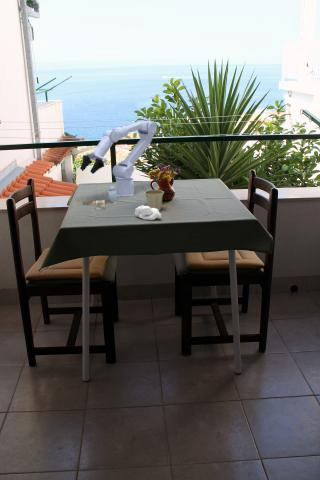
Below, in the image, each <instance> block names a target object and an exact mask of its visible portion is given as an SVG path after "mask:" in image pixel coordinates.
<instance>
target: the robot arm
mask: <svg viewBox="0 0 320 480" xmlns="http://www.w3.org/2000/svg"><path fill="white" fill-rule="evenodd" d="M157 128H158V127H157V123H156V122H155V121H153V120H143V119H140V120H136V121H135V122H134V123H131V124H129V125H127V126H126V125H123V124H119V126H118V127H113V128H112V129H107V130H105V131H103V134H102V137H101V140H100V141H99V142H98V144H97V146H96V147H95V149H94V150H93V151H91V152H85V154H83V156H82V162H81V165H80V168H79V169H80V170H81V171H82V172H84V171H85V170H86V168H87V167H89V165H91V164H92V163H93V161H94V164H93V165H92V167H91V169H90V171H89V172H90V173H91V174H95V173H96V172H97V171H99V170H100V169H102V168H103V167H105V164H106V163H108V159H107V158H106V157H104V156H106V154H107V153H108V152H109V150H110V148H111V147H112V145H113V144H114V143H118V141H119V140H120V139H123V138H126V137H127V136H129V133H133V132H136V131H137V133H138V136H139V137H138V138H140V139H139V140H138V142H137V143H136V144H135V145H134V147H132V149H131V151H130V152H129V153H128V155H127V156H126V157H125V159H124V160H121V161H119V162H118V163H117V164H115V165H114V166H113V168H112V175H113V176H114V179H115V182H116V183H115V186H116V187H115V190H116V191H117V197H126V196H127V197H130V196H135V187H134V184H135V183H134V178H133V177H132V175H133V172H134V171H135V168H134V166H135V164H136V162H137V161H138V160H139V158H140V157H141V156H142V155H143V153H144V152H145V151H146V150H147V148H148V147H149V145H150V144H151V143H152V141H153V137H154V135H155V134H156V133H157V130H158V129H157ZM92 160H93V161H92Z"/></svg>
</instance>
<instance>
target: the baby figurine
mask: <svg viewBox="0 0 320 480" xmlns="http://www.w3.org/2000/svg"><path fill="white" fill-rule="evenodd" d="M134 210H135V211H134V214H135V216H136V217H139V218H140V219H142V220H145V221H154V220H156V218H157V220H158V219H161V218H162V213H160V210H158V209H156V208H150V207H149V206H148V205H144V204H141V205H140V206H139V205H138V207H135V209H134Z"/></svg>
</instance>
